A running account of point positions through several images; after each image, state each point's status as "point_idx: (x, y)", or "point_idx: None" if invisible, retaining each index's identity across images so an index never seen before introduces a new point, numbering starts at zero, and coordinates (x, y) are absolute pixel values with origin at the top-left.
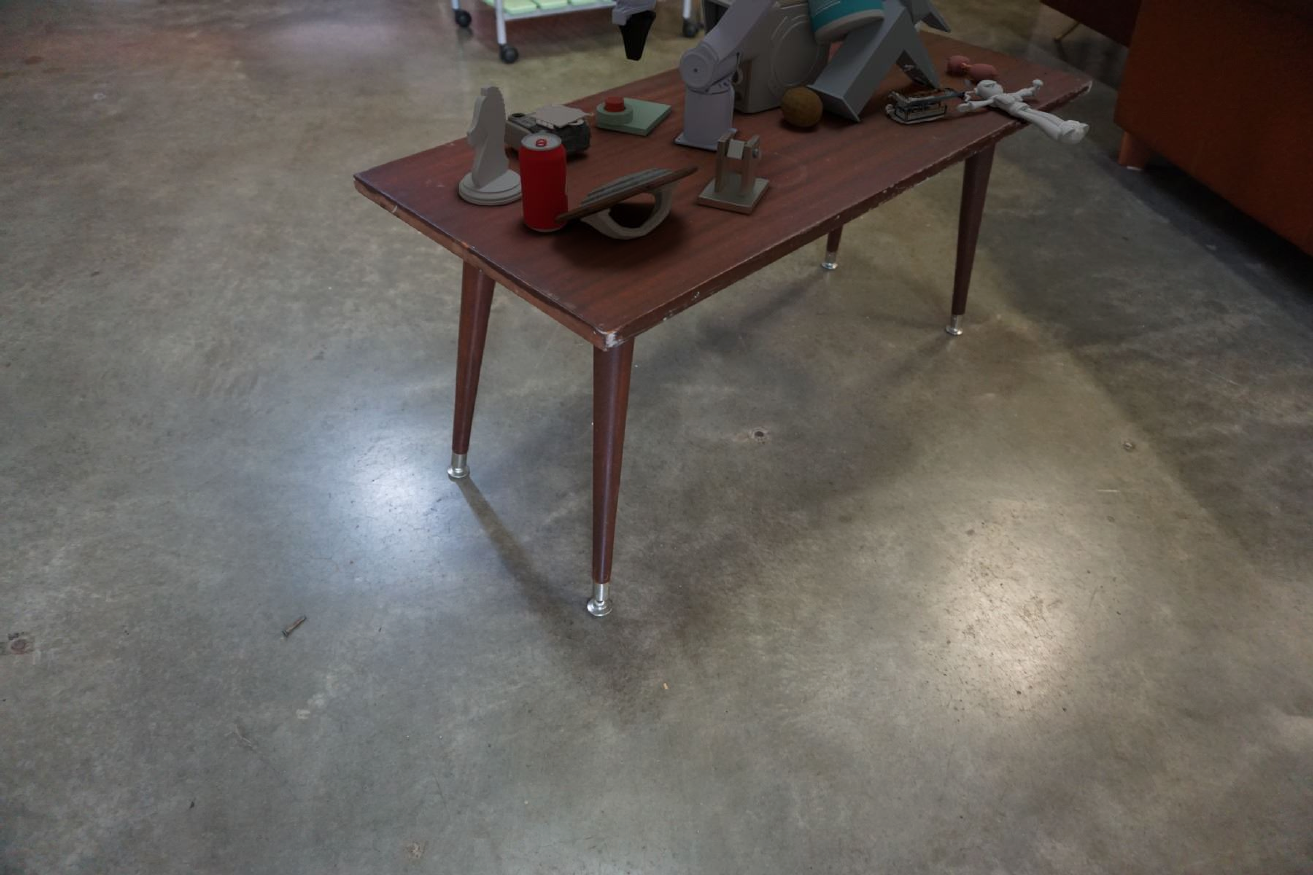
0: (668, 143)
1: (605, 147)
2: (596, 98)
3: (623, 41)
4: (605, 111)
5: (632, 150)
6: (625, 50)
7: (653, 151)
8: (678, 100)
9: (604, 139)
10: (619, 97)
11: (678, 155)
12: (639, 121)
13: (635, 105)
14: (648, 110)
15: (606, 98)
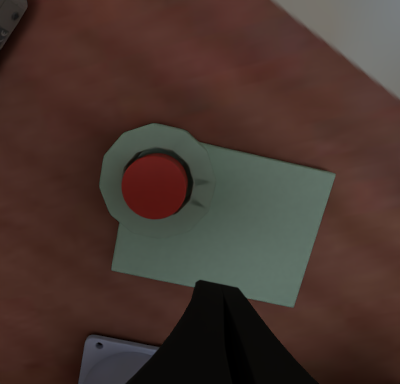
0: (91, 318)
1: (16, 180)
2: (363, 78)
3: (177, 325)
4: (119, 161)
5: (22, 247)
6: (191, 299)
7: (34, 294)
8: (378, 303)
9: (66, 167)
10: (182, 199)
11: (32, 347)
12: (159, 247)
13: (275, 217)
14: (244, 257)
15: (162, 157)
